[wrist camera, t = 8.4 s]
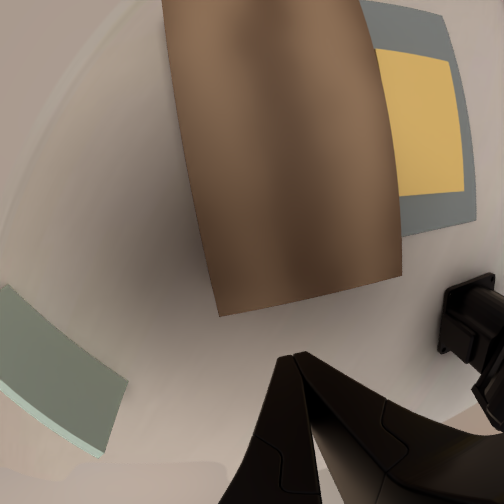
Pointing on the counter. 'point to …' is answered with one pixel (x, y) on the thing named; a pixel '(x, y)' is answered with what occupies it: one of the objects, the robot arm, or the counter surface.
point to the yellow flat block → (422, 122)
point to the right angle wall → (56, 377)
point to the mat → (439, 47)
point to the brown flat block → (285, 147)
